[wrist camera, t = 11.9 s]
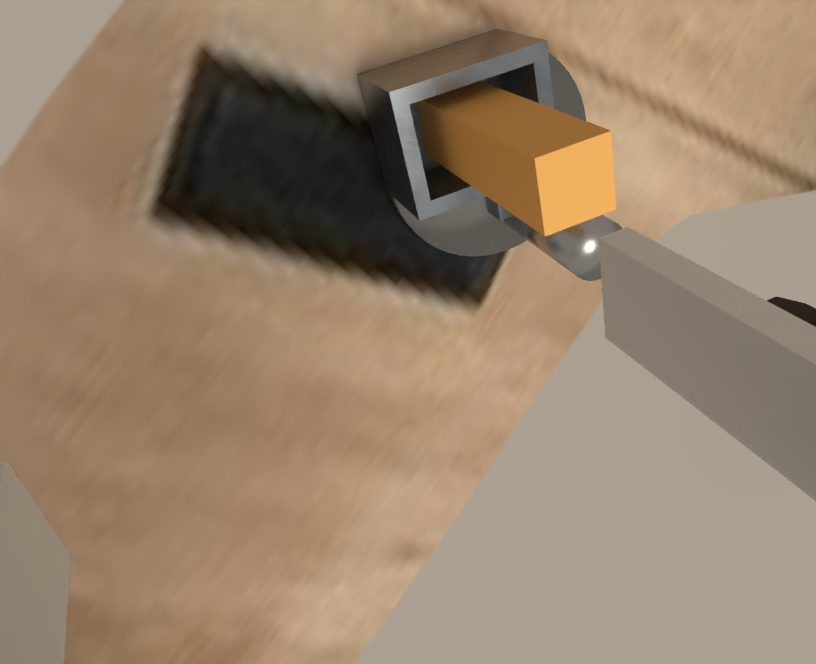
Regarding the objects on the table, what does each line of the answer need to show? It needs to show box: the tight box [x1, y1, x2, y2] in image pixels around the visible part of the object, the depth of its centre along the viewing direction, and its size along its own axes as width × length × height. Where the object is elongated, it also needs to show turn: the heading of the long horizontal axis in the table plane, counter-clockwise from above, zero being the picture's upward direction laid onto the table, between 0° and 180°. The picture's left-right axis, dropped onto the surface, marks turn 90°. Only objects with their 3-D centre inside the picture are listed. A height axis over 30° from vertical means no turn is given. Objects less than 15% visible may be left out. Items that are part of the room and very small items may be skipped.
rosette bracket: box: [357, 29, 622, 281], centre depth 46 cm, size 15×15×11 cm
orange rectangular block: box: [415, 81, 616, 236], centre depth 40 cm, size 4×4×16 cm
